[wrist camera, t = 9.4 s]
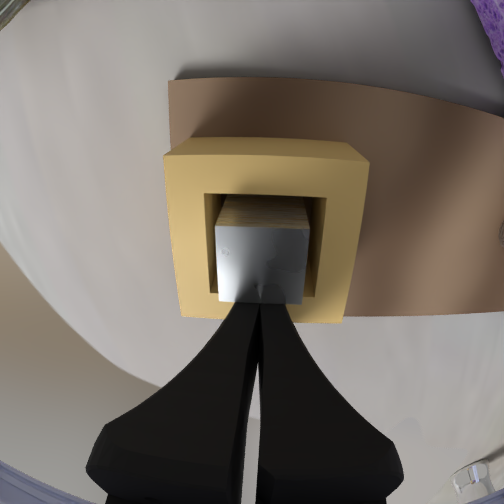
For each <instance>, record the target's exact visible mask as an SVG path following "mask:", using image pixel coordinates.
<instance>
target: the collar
mask: <svg viewBox="0 0 504 504" xmlns="http://www.w3.org/2000/svg"><path fill="white" fill-rule="evenodd" d="M163 160H164V173H165V186H166V197H167V207H168V217H169V227H170V236H171V244H172V253H173V261H174V268H175V276H176V283H177V290H178V297H179V304H180V310H181V316H186V317H199V318H213V319H225V318H226V316H227V315H228V313H229V311H230V310H231V308H232V306H233V305H234V303H235V302H225V301H219V292H218V275H217V257H216V237H215V225H216V222H217V219H218V217H219V214H220V212H221V193H222V194H261V195H286V196H307V197H312V209H311V220H310V234H309V245H308V254H307V264H306V273H305V282H304V290H303V299H302V305H295V304H285V305H286V308H287V310H288V313H289V315H290V318H291V320H292V322H295V323H342V319H343V315H344V310H345V306H346V301H347V297H348V292H349V287H350V283H351V278H352V273H353V268H354V262H355V257H356V252H357V246H358V240H359V235H360V229H361V223H362V216H363V210H364V203H365V196H366V189H367V181H368V173H369V165H370V162H369V161H368V160H366V159H365V158H364V157H363V156H362V155H361V154H360V153H358V152H357V151H356V150H355V149H354V148H353V147H351V146H350V145H349V144H348V143H345V142H334V141H322V140H307V139H289V138H263V137H192V138H188V139H187V140H185V141H184V142H182V143H181V144H179V145H178V146H176V147H175V148H174V149H172V150H171V151H169V152H168V153H166V154H165V155H163Z"/></svg>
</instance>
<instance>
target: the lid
mask: <svg viewBox="0 0 504 504" xmlns="http://www.w3.org/2000/svg"><path fill="white" fill-rule="evenodd" d="M29 1H30V0H0V31H1V30H2V29H3V28H4V27H5V26H6V25H7V24H8V23H9V22H10V21H11V20H12V19H13V18H14V17H15V15H16V14H17V13H18V12H19V11H20V10H21V9H22V8H23V7H24V6H25V5H26V4H27V3H28V2H29Z"/></svg>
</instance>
